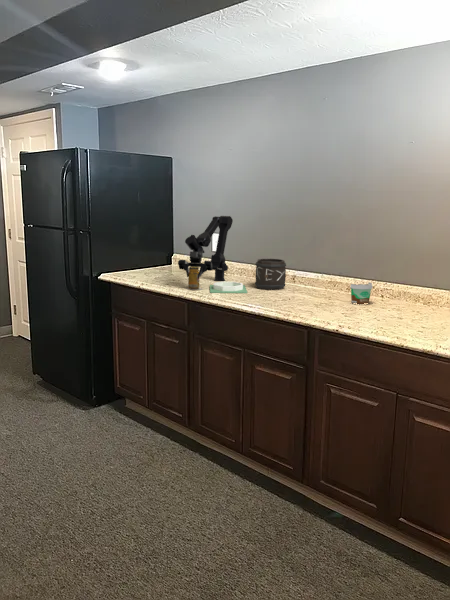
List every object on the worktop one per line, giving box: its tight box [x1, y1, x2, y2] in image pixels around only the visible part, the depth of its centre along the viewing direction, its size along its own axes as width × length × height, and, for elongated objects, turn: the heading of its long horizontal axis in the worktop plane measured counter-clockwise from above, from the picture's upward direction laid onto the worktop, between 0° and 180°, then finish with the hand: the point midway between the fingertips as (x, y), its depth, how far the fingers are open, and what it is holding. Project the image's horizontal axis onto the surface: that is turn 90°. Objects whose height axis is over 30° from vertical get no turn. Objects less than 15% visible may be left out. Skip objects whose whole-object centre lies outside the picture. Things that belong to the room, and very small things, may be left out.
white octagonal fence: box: [213, 281, 244, 291], centre depth 288 cm, size 16×16×2 cm
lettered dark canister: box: [254, 258, 287, 291], centre depth 293 cm, size 18×18×16 cm
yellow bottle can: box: [186, 266, 204, 291], centre depth 287 cm, size 7×8×12 cm
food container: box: [349, 281, 374, 304], centre depth 254 cm, size 12×6×10 cm, turn 117°
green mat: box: [209, 284, 248, 294], centre depth 288 cm, size 22×20×1 cm
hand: (193, 277), depth 285 cm, fingers closed on yellow bottle can, 6 cm apart
